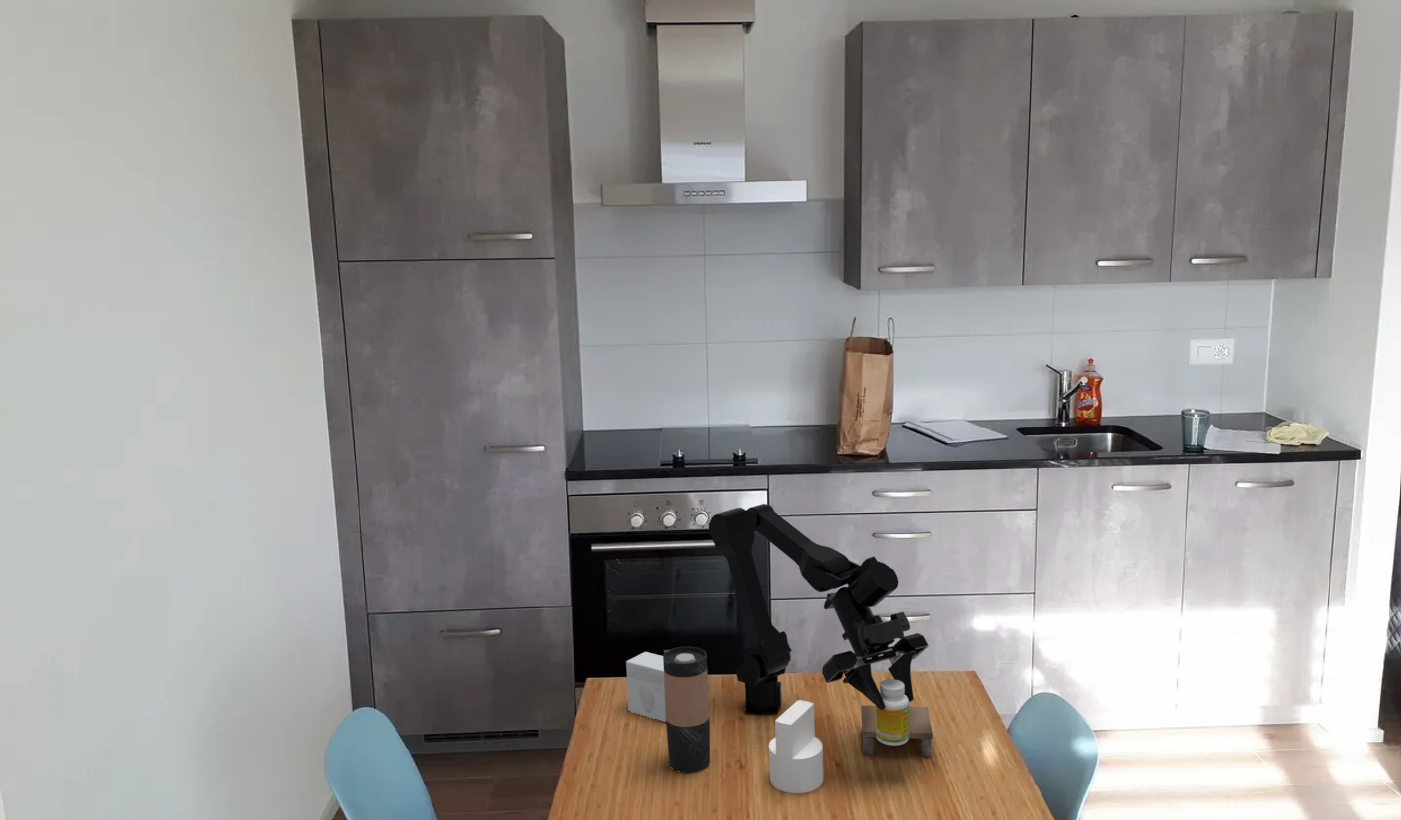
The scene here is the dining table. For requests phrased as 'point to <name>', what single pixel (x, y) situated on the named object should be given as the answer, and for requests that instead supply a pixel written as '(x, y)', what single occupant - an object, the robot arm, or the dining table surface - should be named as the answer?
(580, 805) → the dining table surface
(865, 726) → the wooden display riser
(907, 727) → the supplement bottle
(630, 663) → the skincare box
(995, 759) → the dining table surface
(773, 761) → the base with upright slab
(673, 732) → the travel mug
